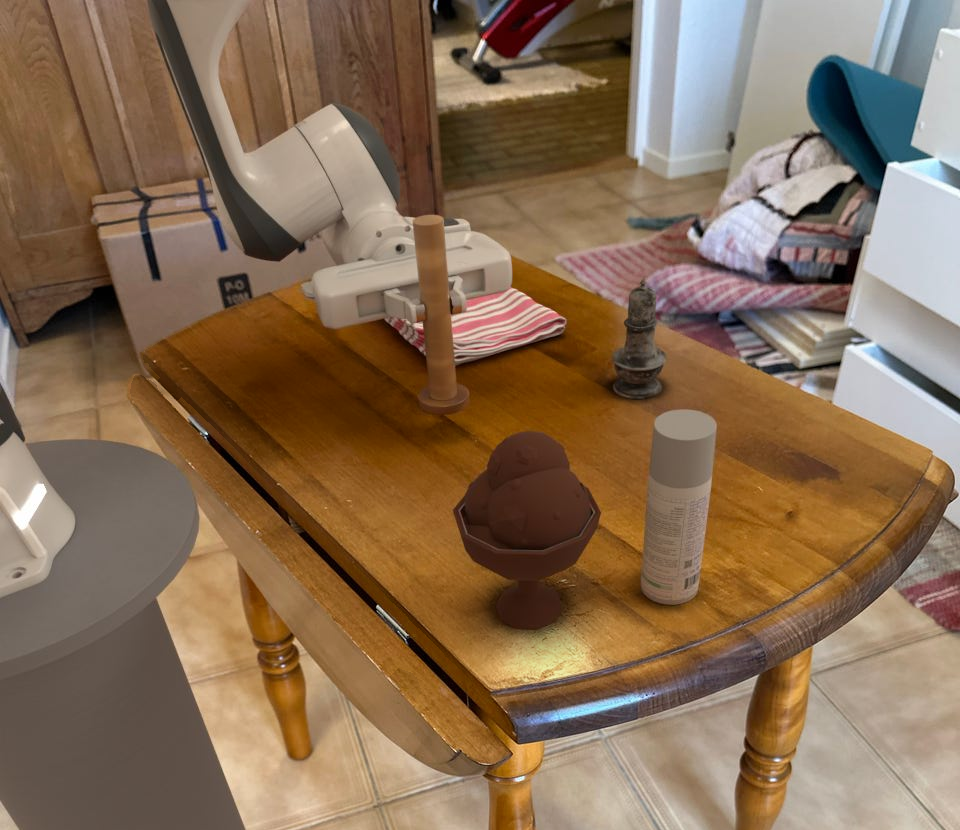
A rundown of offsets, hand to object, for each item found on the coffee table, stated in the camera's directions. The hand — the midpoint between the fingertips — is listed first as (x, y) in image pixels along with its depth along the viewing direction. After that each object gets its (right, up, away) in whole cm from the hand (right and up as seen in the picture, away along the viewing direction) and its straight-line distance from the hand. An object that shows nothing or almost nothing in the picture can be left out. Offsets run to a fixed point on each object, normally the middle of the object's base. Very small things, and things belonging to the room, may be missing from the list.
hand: (439, 310), depth 88 cm
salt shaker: (+21, -4, +15) cm, 26 cm away
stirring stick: (0, -7, +7) cm, 10 cm away
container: (+19, -27, -11) cm, 35 cm away
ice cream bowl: (+8, -29, -12) cm, 32 cm away
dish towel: (+2, +9, +30) cm, 32 cm away
